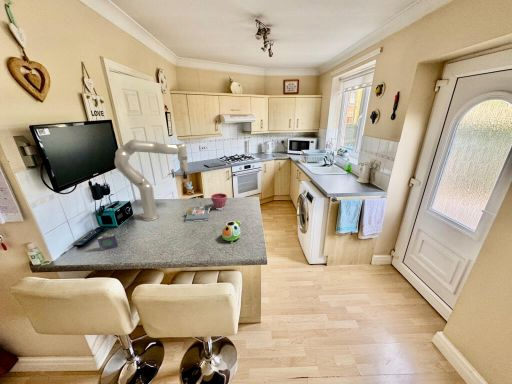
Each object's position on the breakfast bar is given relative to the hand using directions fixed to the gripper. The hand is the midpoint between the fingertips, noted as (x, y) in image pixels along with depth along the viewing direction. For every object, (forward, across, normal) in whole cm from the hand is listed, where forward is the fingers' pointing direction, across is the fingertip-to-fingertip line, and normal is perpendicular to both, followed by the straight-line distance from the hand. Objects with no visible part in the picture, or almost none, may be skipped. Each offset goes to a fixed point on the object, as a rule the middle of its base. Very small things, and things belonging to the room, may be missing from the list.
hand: (185, 178), depth 178 cm
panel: (+29, -15, -12) cm, 35 cm away
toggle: (+26, -6, -12) cm, 29 cm away
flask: (+29, -58, +39) cm, 76 cm away
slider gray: (+26, -10, -18) cm, 33 cm away
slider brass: (+26, -17, -5) cm, 32 cm away
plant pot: (+29, -3, -29) cm, 41 cm away
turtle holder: (+29, -54, -41) cm, 74 cm away
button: (+26, -18, -12) cm, 34 cm away
